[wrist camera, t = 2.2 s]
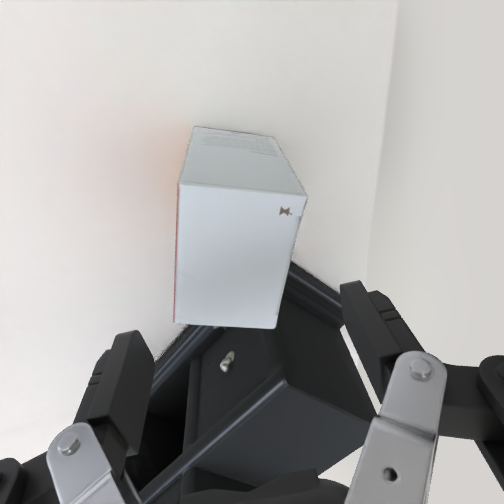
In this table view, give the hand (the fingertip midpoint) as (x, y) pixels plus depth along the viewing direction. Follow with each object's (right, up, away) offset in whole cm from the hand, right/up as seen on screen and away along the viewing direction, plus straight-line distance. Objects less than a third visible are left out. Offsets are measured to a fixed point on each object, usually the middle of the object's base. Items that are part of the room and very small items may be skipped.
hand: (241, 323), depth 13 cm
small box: (-1, +8, +12) cm, 14 cm away
